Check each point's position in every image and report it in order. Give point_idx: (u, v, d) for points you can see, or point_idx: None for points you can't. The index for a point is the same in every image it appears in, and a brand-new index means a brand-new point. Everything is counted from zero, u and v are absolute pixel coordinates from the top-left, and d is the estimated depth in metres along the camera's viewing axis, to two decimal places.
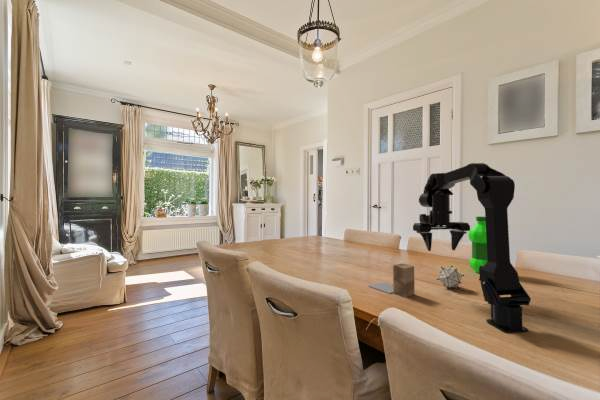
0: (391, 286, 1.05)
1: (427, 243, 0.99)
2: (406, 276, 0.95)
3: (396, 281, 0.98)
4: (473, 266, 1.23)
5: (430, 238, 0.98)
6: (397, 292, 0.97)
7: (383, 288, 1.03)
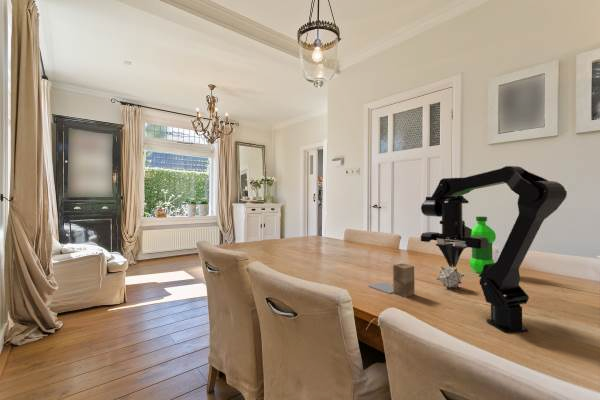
0: (391, 286, 1.05)
1: None
2: (406, 276, 0.95)
3: (396, 281, 0.98)
4: (473, 266, 1.23)
5: (444, 251, 0.88)
6: (397, 292, 0.97)
7: (383, 288, 1.03)
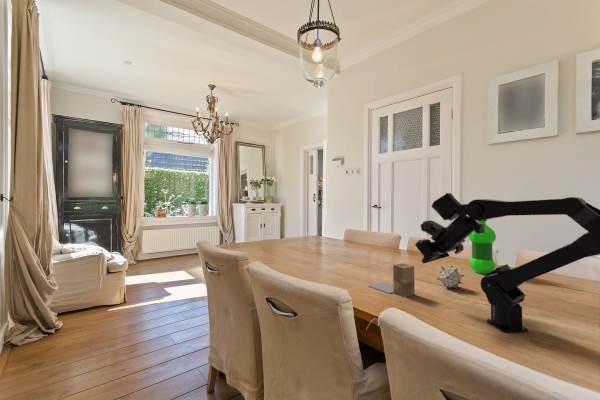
0: (391, 286, 1.05)
1: None
2: (406, 276, 0.95)
3: (396, 281, 0.98)
4: (473, 266, 1.23)
5: (436, 259, 0.87)
6: (397, 292, 0.97)
7: (383, 288, 1.03)
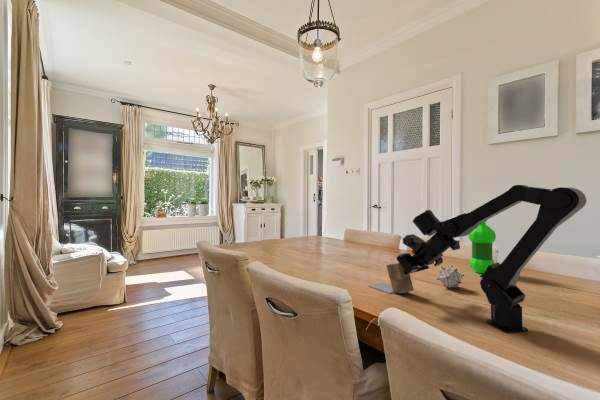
0: (391, 286, 1.05)
1: None
2: (400, 271, 0.97)
3: (392, 280, 0.99)
4: (473, 266, 1.23)
5: (416, 271, 0.93)
6: (396, 291, 0.97)
7: (383, 288, 1.03)
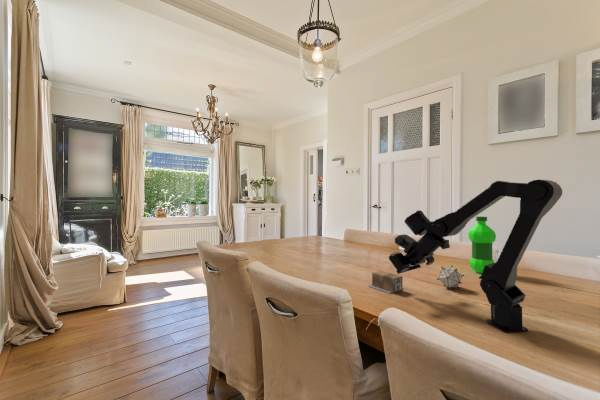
0: None
1: None
2: (379, 274, 1.05)
3: (383, 286, 1.02)
4: (473, 266, 1.23)
5: (408, 270, 0.95)
6: (392, 287, 0.99)
7: None
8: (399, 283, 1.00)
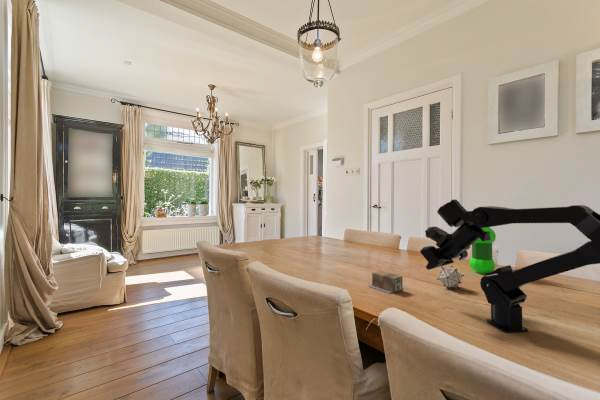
0: None
1: None
2: (379, 274, 1.05)
3: (383, 286, 1.02)
4: (473, 266, 1.23)
5: None
6: (392, 287, 0.99)
7: None
8: (399, 283, 1.00)
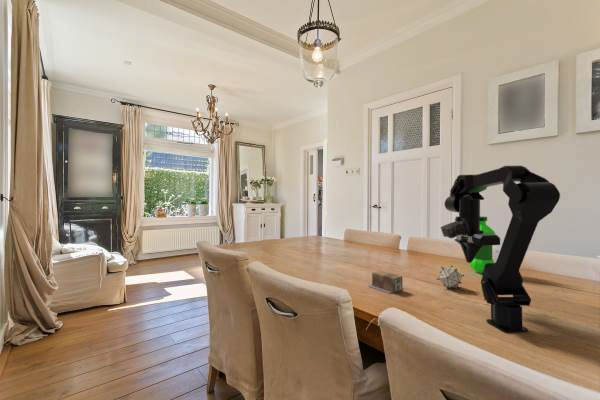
0: None
1: (474, 254, 0.87)
2: (379, 274, 1.05)
3: (383, 286, 1.02)
4: (473, 266, 1.23)
5: None
6: (392, 287, 0.99)
7: None
8: (399, 283, 1.00)
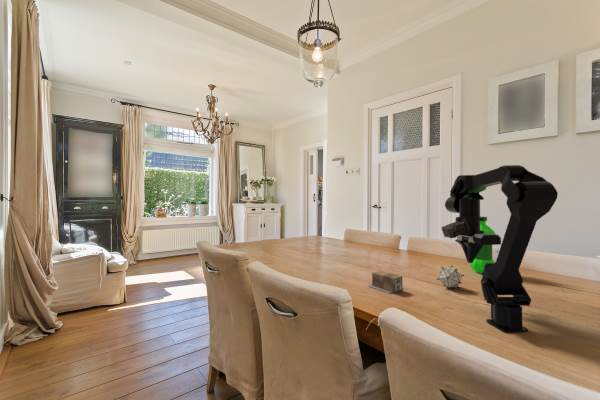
0: None
1: (474, 254, 0.87)
2: (379, 274, 1.05)
3: (383, 286, 1.02)
4: (473, 266, 1.23)
5: None
6: (392, 287, 0.99)
7: None
8: (399, 283, 1.00)
